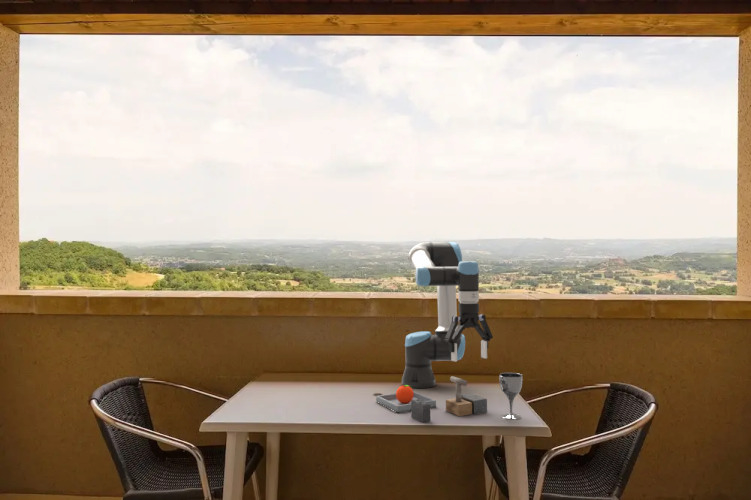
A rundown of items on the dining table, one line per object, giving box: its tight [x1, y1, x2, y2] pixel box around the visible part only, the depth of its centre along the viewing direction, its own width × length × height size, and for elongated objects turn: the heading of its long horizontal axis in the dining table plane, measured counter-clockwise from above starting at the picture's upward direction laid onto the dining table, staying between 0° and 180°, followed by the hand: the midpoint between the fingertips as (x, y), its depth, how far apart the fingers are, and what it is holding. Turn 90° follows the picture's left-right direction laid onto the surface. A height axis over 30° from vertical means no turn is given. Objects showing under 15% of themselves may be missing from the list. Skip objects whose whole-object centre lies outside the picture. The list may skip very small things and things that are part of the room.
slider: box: [445, 375, 473, 417], centre depth 200 cm, size 8×6×12 cm
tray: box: [375, 390, 437, 413], centre depth 212 cm, size 17×17×2 cm
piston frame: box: [410, 392, 488, 424], centre depth 198 cm, size 9×28×6 cm, turn 117°
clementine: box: [395, 385, 414, 404], centre depth 212 cm, size 8×7×7 cm
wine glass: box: [499, 372, 523, 421], centre depth 195 cm, size 8×8×15 cm
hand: (469, 359), depth 203 cm, fingers open, 13 cm apart
